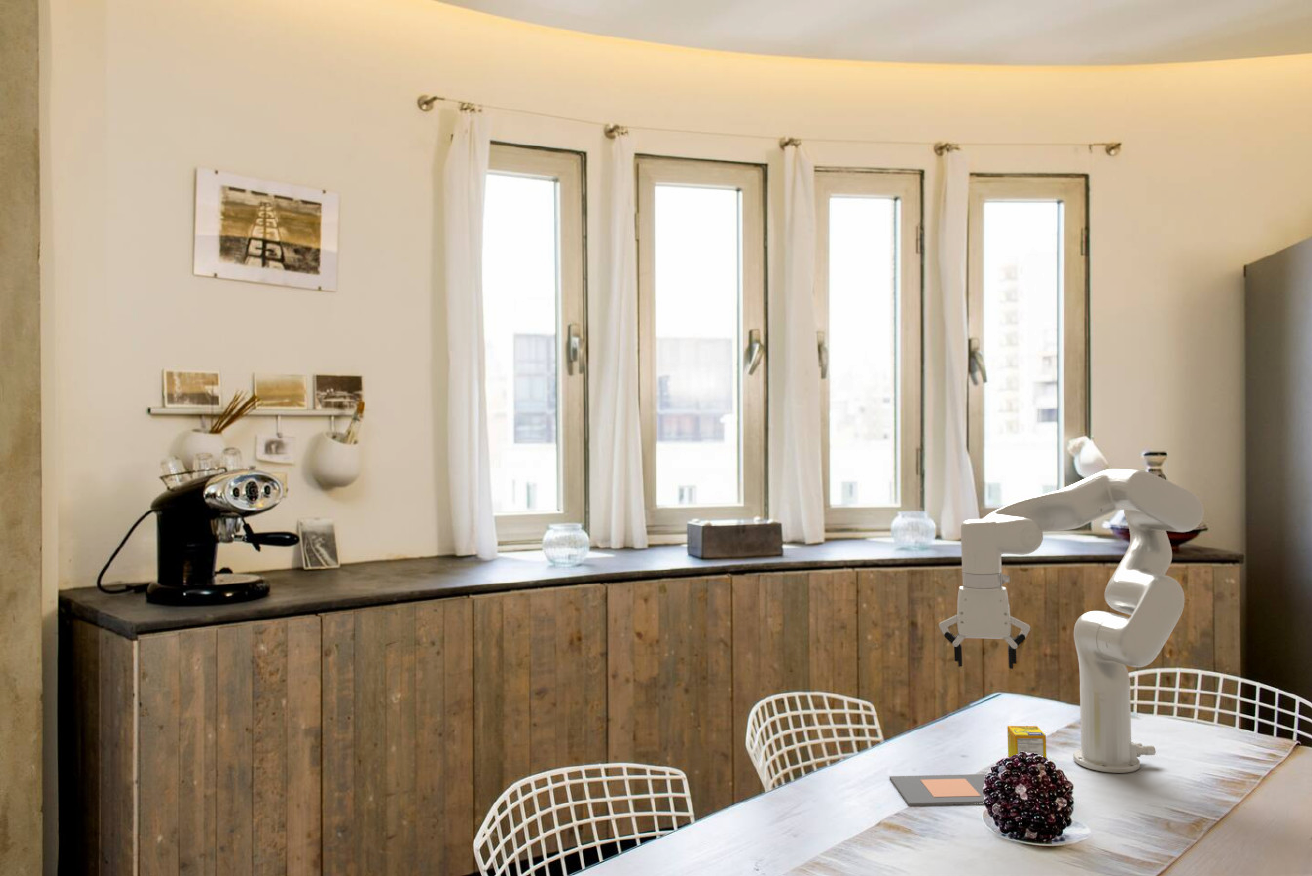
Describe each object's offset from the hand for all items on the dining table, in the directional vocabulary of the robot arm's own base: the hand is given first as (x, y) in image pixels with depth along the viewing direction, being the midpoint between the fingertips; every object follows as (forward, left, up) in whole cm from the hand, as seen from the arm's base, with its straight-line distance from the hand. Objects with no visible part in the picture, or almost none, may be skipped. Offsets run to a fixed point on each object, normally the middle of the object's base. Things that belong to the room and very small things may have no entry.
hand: (985, 666), depth 188 cm
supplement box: (-7, +3, -23) cm, 24 cm away
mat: (+9, +5, -23) cm, 25 cm away
